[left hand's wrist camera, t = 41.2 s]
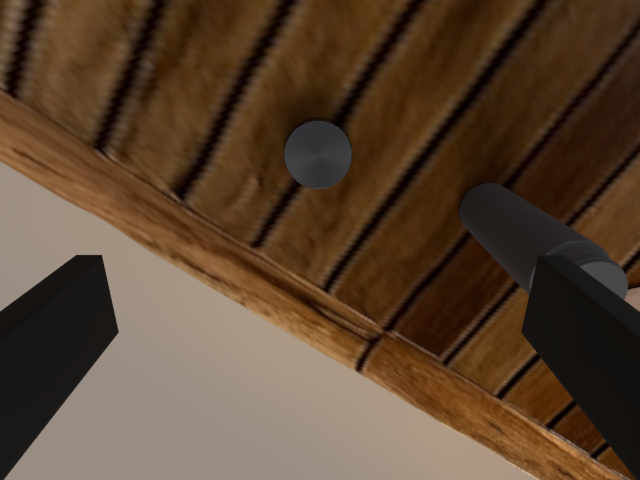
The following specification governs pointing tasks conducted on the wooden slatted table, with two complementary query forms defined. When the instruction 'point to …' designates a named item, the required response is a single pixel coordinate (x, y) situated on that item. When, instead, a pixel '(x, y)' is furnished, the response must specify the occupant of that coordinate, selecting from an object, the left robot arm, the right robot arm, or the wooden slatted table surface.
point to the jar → (531, 237)
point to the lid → (318, 153)
